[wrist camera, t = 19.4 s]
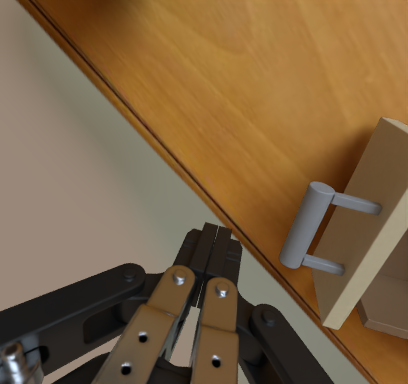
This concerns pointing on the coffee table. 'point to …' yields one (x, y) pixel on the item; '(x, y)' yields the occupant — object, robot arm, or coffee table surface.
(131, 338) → the robot arm
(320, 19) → the coffee table surface
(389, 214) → the drawer
